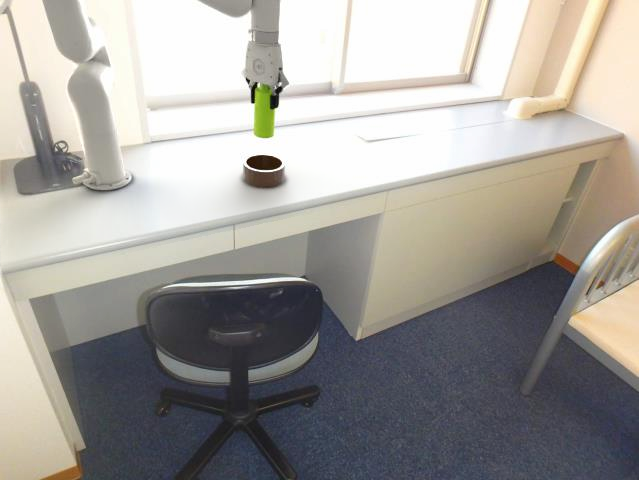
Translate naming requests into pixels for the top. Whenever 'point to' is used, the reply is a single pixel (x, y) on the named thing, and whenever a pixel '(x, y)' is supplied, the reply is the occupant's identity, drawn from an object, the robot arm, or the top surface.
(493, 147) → the top surface
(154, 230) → the top surface
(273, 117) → the soap dispenser
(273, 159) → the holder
